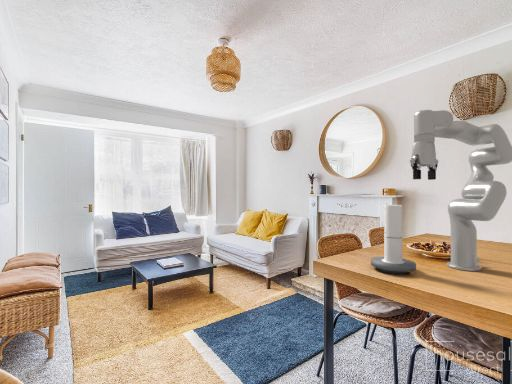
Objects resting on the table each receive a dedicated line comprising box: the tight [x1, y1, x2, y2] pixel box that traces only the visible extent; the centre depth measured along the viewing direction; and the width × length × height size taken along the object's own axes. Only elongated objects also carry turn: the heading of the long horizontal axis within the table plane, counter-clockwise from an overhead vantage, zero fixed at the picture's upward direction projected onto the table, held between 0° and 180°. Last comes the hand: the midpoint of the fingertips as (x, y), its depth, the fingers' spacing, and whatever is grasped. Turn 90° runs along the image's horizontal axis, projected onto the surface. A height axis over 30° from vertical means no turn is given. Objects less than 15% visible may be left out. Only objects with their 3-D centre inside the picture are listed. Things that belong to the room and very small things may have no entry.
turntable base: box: [377, 268, 409, 275], centre depth 120 cm, size 12×12×2 cm
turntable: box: [370, 256, 417, 273], centre depth 120 cm, size 18×18×6 cm
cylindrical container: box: [383, 204, 403, 263], centre depth 120 cm, size 7×7×25 cm
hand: (424, 179), depth 116 cm, fingers open, 9 cm apart
